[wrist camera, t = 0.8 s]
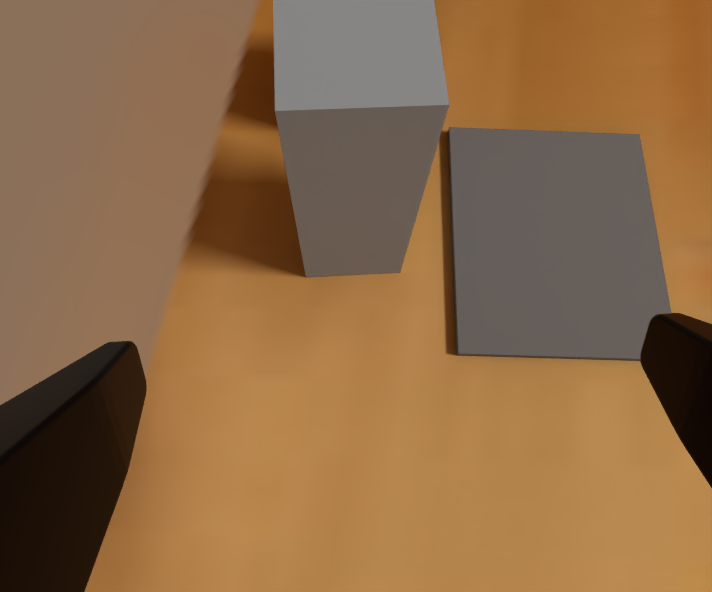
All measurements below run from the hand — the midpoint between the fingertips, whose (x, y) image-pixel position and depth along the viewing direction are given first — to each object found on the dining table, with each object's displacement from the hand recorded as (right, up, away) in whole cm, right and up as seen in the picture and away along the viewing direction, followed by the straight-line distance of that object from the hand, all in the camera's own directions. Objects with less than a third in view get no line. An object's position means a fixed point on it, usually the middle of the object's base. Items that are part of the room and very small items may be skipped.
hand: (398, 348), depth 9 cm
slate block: (-1, +4, +16) cm, 17 cm away
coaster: (+9, +4, +17) cm, 19 cm away
